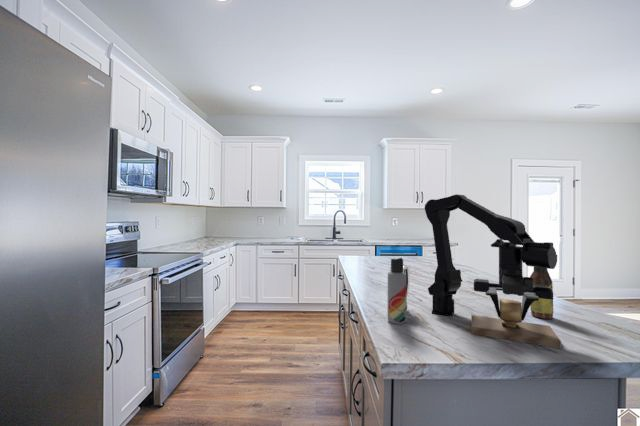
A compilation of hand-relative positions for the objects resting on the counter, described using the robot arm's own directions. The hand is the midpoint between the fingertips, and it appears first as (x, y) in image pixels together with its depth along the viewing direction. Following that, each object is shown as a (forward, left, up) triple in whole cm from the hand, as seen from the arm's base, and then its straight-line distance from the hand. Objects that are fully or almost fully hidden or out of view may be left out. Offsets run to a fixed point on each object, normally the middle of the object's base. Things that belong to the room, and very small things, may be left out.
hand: (510, 318), depth 84 cm
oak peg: (0, 0, -2) cm, 2 cm away
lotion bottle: (-31, -6, -4) cm, 32 cm away
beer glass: (-33, +7, -4) cm, 34 cm away
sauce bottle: (+11, +23, -4) cm, 26 cm away
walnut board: (0, 0, -4) cm, 4 cm away
